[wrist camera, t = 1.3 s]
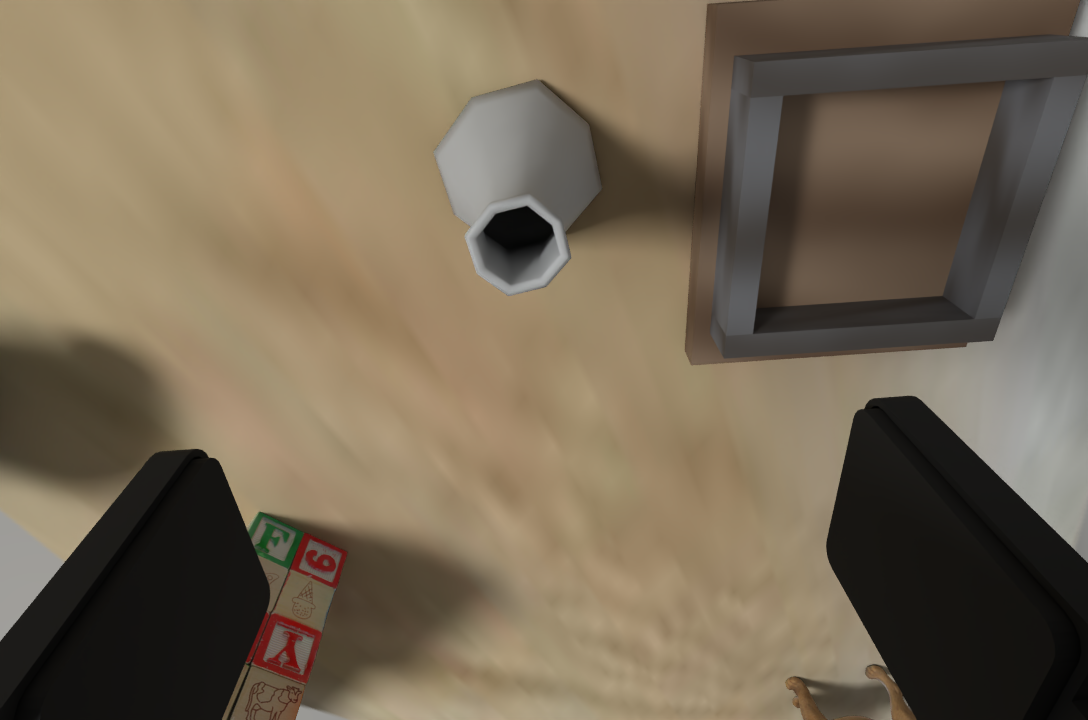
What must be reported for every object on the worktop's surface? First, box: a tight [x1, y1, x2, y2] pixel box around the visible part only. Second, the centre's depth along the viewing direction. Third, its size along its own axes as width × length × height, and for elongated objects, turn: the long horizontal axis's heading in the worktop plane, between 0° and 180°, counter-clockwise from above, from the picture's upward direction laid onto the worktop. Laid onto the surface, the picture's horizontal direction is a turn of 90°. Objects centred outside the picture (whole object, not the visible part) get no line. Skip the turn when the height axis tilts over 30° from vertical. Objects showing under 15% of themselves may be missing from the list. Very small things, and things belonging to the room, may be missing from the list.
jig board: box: [685, 0, 1088, 365], centre depth 27 cm, size 16×14×4 cm
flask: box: [433, 79, 602, 296], centre depth 24 cm, size 7×7×10 cm
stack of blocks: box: [222, 512, 347, 720], centre depth 38 cm, size 21×6×12 cm, turn 142°
